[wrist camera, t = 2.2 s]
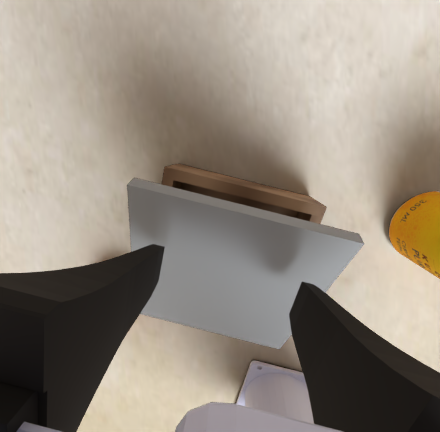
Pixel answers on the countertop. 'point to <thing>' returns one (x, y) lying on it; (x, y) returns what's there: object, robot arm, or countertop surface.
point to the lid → (232, 261)
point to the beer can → (418, 231)
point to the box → (243, 192)
